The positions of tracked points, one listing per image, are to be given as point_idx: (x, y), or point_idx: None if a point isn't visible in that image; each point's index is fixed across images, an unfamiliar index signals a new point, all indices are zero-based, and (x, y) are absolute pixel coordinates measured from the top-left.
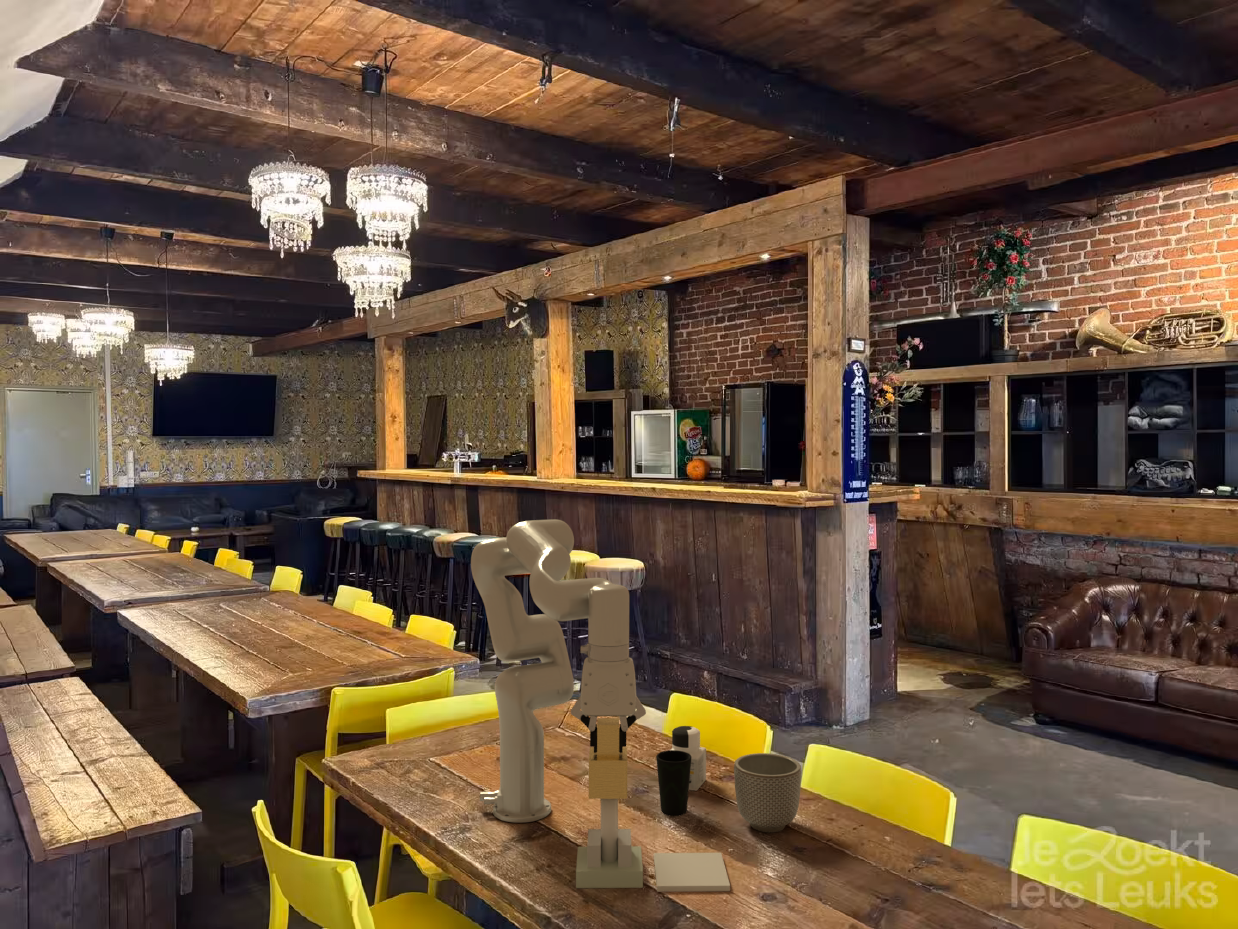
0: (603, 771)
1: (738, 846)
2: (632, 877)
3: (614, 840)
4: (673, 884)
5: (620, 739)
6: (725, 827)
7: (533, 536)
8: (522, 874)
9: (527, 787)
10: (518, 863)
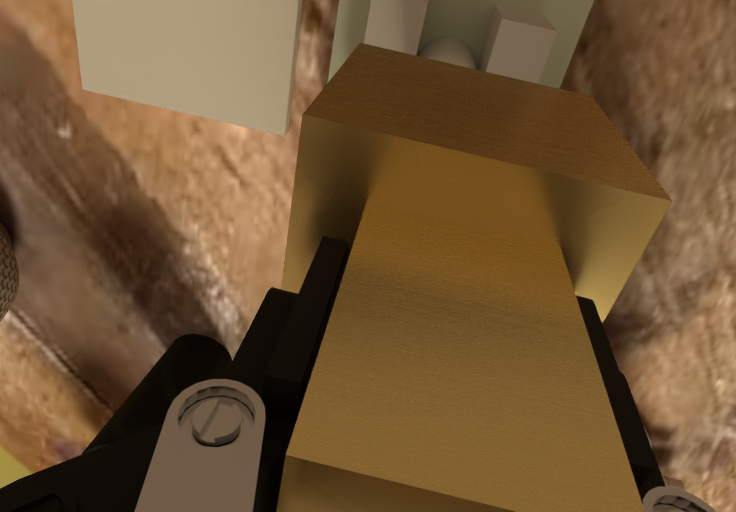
0: (519, 132)
1: (42, 143)
2: None
3: (430, 58)
4: None
5: (315, 316)
6: (78, 252)
7: None
8: (718, 128)
9: None
10: (697, 200)
